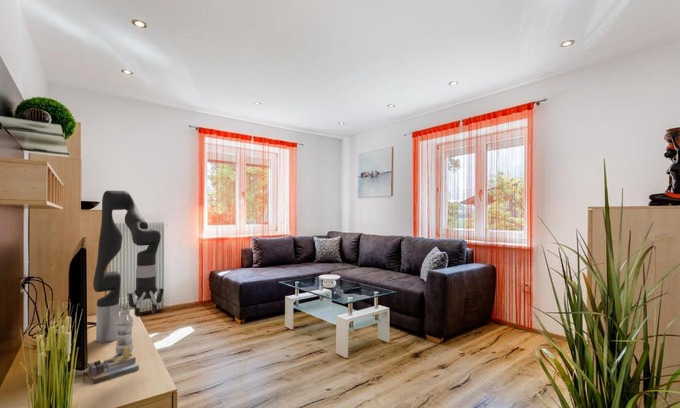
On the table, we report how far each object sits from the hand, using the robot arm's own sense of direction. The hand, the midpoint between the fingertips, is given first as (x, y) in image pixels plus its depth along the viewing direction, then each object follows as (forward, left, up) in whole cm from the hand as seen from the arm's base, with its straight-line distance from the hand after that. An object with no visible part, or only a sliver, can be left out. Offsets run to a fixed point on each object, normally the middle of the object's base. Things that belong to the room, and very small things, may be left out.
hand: (145, 314), depth 144 cm
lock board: (0, -12, -19) cm, 23 cm away
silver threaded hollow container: (-13, -4, -20) cm, 24 cm away
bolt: (0, -8, -18) cm, 20 cm away
